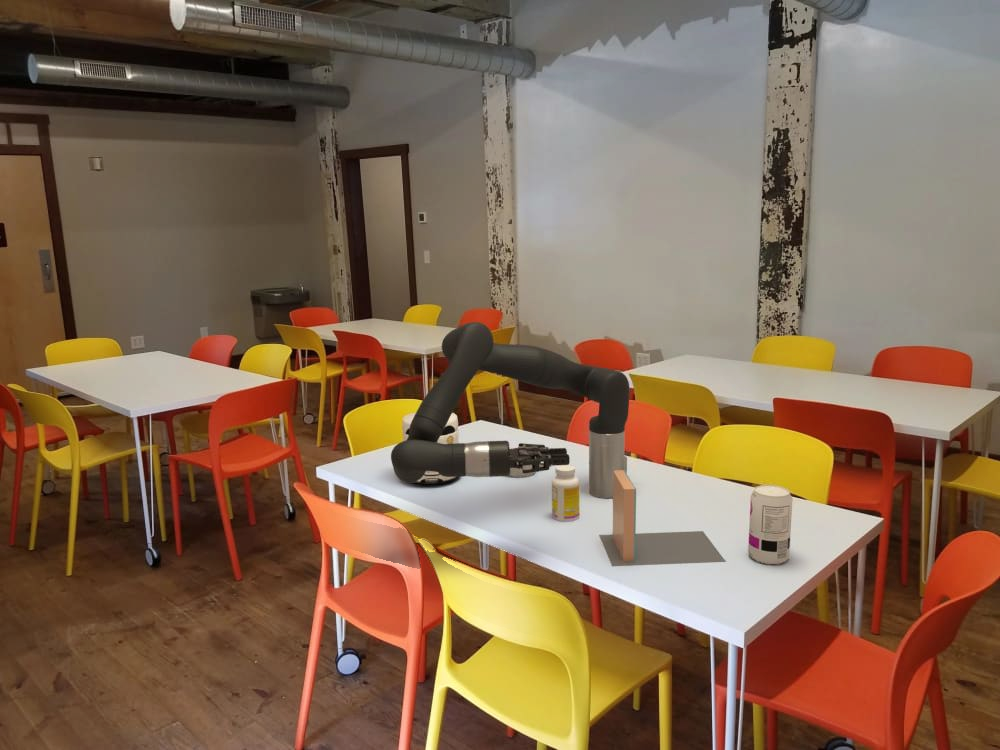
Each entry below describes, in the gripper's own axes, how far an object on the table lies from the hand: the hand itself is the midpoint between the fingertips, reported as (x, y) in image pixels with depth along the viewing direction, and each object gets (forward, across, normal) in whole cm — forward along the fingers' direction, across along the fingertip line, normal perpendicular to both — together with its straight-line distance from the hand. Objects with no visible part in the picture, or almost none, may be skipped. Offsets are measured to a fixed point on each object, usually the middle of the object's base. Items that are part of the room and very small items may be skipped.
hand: (567, 456), depth 162 cm
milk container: (-32, +52, +22) cm, 65 cm away
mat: (+20, 0, +22) cm, 30 cm away
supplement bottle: (+2, +20, +22) cm, 30 cm away
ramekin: (-7, +55, +22) cm, 60 cm away
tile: (+12, 0, +22) cm, 25 cm away
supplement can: (+42, -6, +22) cm, 48 cm away
